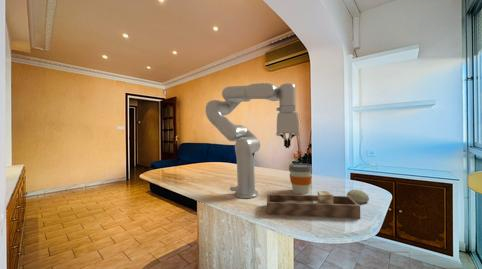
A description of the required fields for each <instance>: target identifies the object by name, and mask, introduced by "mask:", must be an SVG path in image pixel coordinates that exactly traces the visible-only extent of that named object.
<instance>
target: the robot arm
mask: <svg viewBox="0 0 482 269" xmlns="http://www.w3.org/2000/svg"><path fill="white" fill-rule="evenodd" d="M221 96H222V98H223V99H224V100H218V99H217V100H216V99H212V100H209V101H208V102H207V103H206V105H205V115H206V117H207V119H208V121H209V122H210V124H212V125H213V126H214V128H216V129H217V130H218V132H220V134H222V135H223V137H224V138H226V139H227V141H229V142H235V144H234V151H235V156H236V171H237V172H236V174H237V177H236V178H237V182H236V183H237V185H236V186H230V187H229V190H230V191H231V192H234V196H235V197H237V198H239V199H252V198H255V197H257V196H258V195H259V192H258V190H256V182H255V181H256V180H255V179H256V178H255V177H256V175H255V174H256V172H255V160H254V156H253V154H254V153H257V152H258V151H259V150H260V148H261V142H260V140H259V138H258V137H257V136H256V135H254V133H252V132H251V131H250V130H249V129H248V128H247V127H246V126H244V125H240V124H238V125H237V124H235V123H233V122H231V120H230V119H228V117H226V116H227V115H230V114H231V113H233V111H234V110H235V109H236V108H237V107H238V106H239V105H240V104H241V103H242V102H250V101H252V100H268V101H271V102H278V101H279V103H278V104H279V107H276V112H277V111H278V112H277V117H276V133H275V136H278V137H281V138H282V139H283V146H284V147H285V149H290V147H291V140H292V139H293V138H294V137H298V136H300V134H299V116H298V112H296V85H295V84H294V83H288V82H287V83H283V84H280V85H275V84H272V83H269V82H261V83H258V82H257V83H251V84H249V85H233V86H231V85H230V86H226V87H224V88H223V89H222V92H221ZM286 134H288V138H287V136H286Z"/></svg>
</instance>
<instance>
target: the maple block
mask: <svg viewBox="0 0 482 269" xmlns="http://www.w3.org/2000/svg"><path fill="white" fill-rule="evenodd" d="M317 195H318V203H319V204H333V196H334V194H333V193H332V192H331V191H329V190H318V191H317Z"/></svg>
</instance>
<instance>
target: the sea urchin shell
mask: <svg viewBox="0 0 482 269" xmlns="http://www.w3.org/2000/svg"><path fill="white" fill-rule="evenodd" d="M346 196H350V197H351V198H352V199H353V200H354V201H355V202H356V203H358V204H363V203H368V202H369V201H370V197H369V194H367V193H366V192H365V191H363V190H360V189H351V190H349V191H348V192H347V193H346Z"/></svg>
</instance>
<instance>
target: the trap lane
mask: <svg viewBox="0 0 482 269" xmlns="http://www.w3.org/2000/svg"><path fill="white" fill-rule="evenodd" d="M266 215H267V216H268V215H271V216H289V217H290V216H292V217H313V218H315V217H316V218H318V217H319V218H337V219H339V218H340V219H361V205H360V203H357V202H355V201H354V200H353V199H352V198H351V197H350V196H347V195H333V204H319V203H318V194H316V195H312V194H310V195H309V194H270V193H269V194H268V193H267V197H266Z"/></svg>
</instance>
